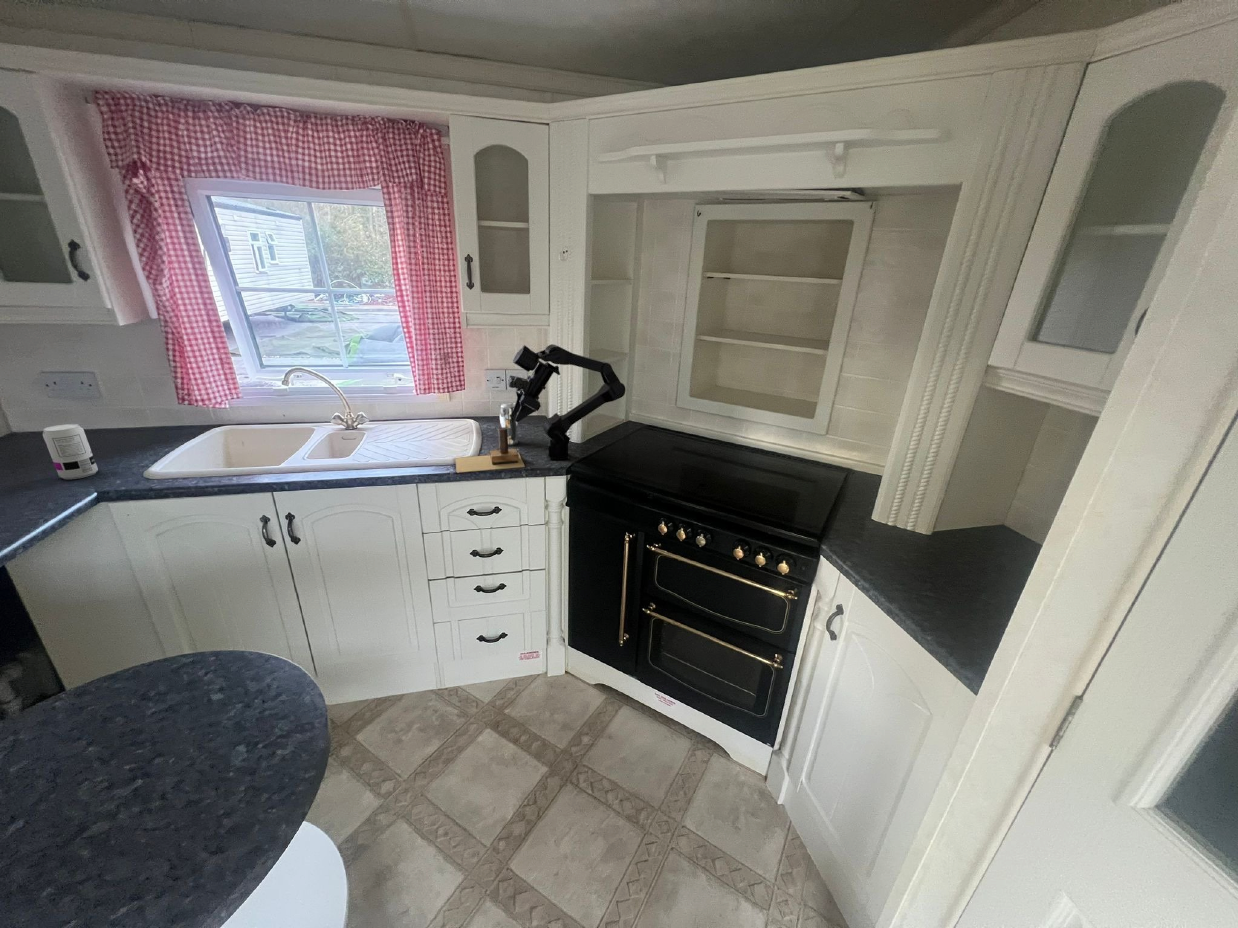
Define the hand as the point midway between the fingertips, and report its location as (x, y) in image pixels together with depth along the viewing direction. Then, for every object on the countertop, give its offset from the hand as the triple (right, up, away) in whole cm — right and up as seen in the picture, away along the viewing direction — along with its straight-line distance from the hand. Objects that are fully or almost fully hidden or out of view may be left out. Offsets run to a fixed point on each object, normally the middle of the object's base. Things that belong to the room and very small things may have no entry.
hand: (514, 417), depth 167 cm
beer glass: (-7, -8, +23) cm, 25 cm away
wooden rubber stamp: (-4, -15, +3) cm, 16 cm away
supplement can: (-127, -19, -19) cm, 130 cm away
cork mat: (-9, -15, +2) cm, 18 cm away
